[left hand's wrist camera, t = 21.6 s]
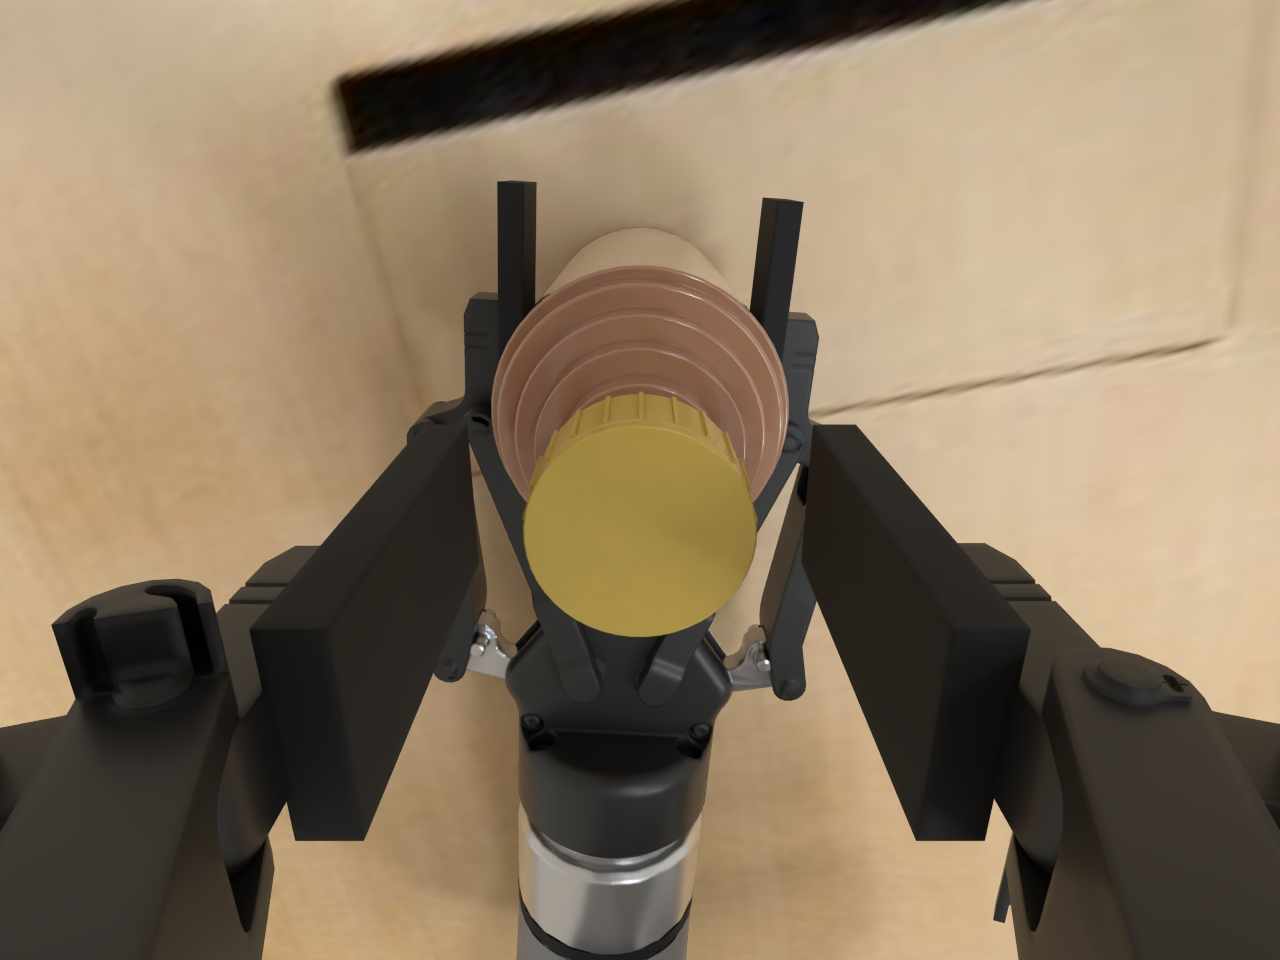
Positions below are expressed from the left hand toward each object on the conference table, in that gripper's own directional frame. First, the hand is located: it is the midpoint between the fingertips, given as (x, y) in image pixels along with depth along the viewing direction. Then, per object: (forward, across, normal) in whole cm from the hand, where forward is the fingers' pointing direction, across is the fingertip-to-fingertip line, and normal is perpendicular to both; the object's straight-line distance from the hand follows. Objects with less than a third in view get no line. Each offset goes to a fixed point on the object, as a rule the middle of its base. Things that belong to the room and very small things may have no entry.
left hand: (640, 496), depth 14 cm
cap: (-1, 0, 0) cm, 1 cm away
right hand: (+12, 0, -5) cm, 13 cm away
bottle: (+18, 0, 0) cm, 18 cm away
